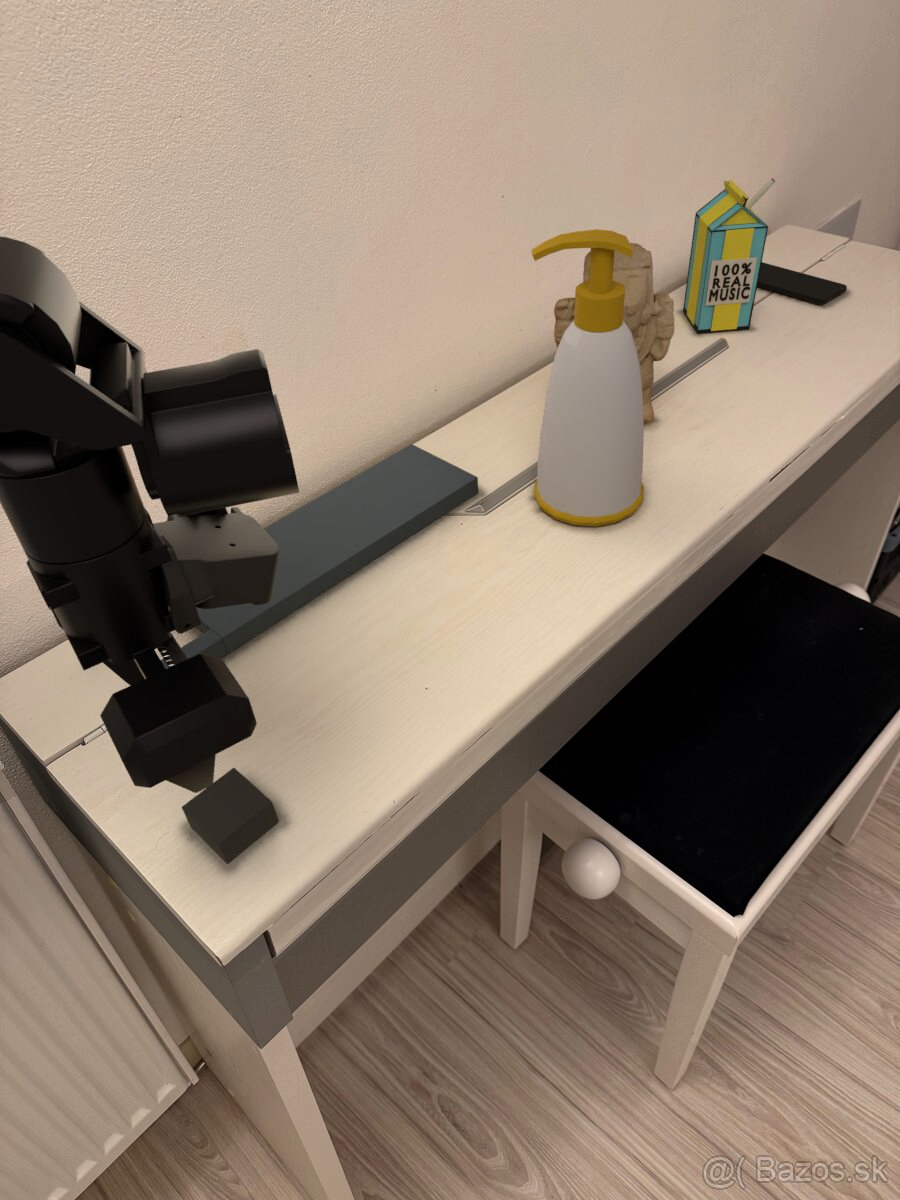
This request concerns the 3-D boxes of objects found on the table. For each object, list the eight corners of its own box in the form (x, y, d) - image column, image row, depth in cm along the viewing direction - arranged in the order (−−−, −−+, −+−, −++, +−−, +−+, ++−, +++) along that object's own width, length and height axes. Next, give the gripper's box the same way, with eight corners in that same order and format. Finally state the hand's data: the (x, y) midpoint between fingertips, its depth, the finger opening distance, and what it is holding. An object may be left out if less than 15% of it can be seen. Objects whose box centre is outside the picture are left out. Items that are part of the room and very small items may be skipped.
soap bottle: (525, 469, 93) (525, 216, 75) (633, 462, 92) (658, 207, 75) (535, 533, 84) (538, 265, 67) (653, 526, 84) (687, 255, 67)
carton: (756, 329, 114) (784, 184, 102) (697, 334, 114) (718, 190, 102) (738, 306, 120) (762, 166, 107) (682, 311, 119) (700, 171, 107)
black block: (190, 827, 61) (181, 806, 60) (241, 787, 64) (233, 767, 62) (227, 864, 59) (218, 844, 57) (279, 822, 61) (272, 801, 60)
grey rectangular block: (162, 696, 71) (155, 680, 70) (103, 639, 77) (95, 623, 75) (478, 492, 90) (477, 477, 89) (413, 459, 95) (411, 443, 94)
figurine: (554, 441, 97) (559, 262, 83) (548, 408, 102) (552, 235, 89) (669, 434, 96) (693, 254, 83) (657, 402, 101) (677, 227, 88)
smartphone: (755, 259, 129) (849, 285, 120) (754, 265, 130) (847, 291, 121) (728, 273, 126) (823, 300, 117) (727, 279, 126) (822, 306, 118)
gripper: (326, 558, 38) (369, 772, 48) (175, 397, 50) (236, 597, 60) (75, 669, 34) (181, 878, 44) (-24, 464, 46) (78, 667, 56)
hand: (174, 735), depth 51 cm, fingers open, 9 cm apart
